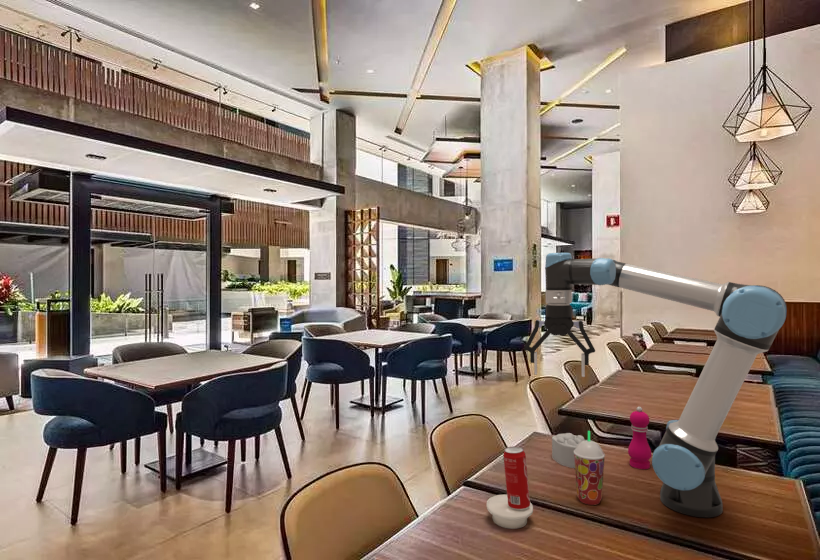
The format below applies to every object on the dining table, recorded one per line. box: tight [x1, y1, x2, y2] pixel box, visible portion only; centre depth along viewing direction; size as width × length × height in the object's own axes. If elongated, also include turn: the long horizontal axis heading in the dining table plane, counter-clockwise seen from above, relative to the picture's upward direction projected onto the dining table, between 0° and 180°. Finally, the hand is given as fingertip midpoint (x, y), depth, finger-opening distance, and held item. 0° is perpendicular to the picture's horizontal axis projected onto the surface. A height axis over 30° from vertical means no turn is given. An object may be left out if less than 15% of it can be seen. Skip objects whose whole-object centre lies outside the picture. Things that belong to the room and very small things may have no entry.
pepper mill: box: [627, 406, 653, 470], centre depth 163 cm, size 7×7×20 cm
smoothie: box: [574, 430, 606, 506], centre depth 138 cm, size 8×8×20 cm
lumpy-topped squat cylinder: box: [551, 432, 585, 469], centre depth 167 cm, size 10×13×9 cm
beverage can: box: [502, 445, 531, 510], centre depth 127 cm, size 6×6×15 cm
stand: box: [486, 493, 534, 530], centre depth 128 cm, size 12×12×4 cm
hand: (559, 375), depth 145 cm, fingers open, 13 cm apart
